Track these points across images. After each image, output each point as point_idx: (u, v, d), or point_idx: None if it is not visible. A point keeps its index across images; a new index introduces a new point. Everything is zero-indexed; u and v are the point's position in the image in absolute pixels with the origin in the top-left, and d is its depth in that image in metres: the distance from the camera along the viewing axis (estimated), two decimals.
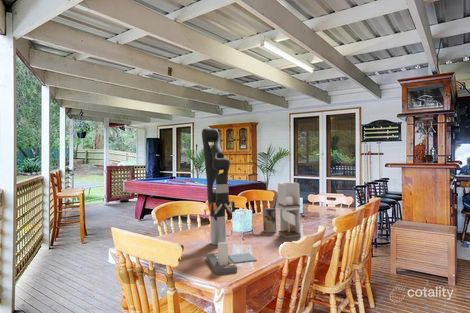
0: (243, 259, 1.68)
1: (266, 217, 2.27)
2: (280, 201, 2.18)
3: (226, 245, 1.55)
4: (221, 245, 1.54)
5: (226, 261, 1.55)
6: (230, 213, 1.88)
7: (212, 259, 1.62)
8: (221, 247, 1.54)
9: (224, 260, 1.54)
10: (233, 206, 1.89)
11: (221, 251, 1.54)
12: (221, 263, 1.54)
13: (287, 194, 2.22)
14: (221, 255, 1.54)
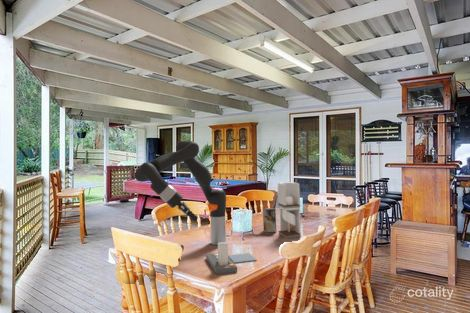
0: (243, 259, 1.68)
1: (266, 217, 2.27)
2: (280, 201, 2.18)
3: (226, 245, 1.55)
4: (221, 245, 1.54)
5: (226, 261, 1.55)
6: (189, 216, 1.51)
7: (212, 259, 1.62)
8: (221, 247, 1.54)
9: (224, 260, 1.54)
10: (183, 212, 1.49)
11: (221, 251, 1.54)
12: (221, 263, 1.54)
13: (287, 194, 2.22)
14: (221, 255, 1.54)
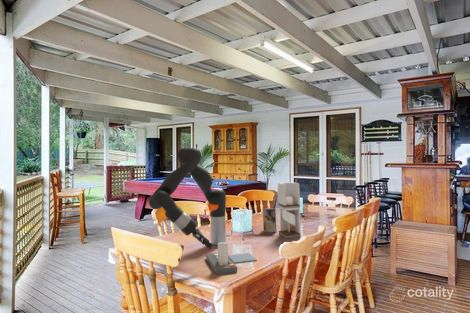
0: (243, 259, 1.68)
1: (266, 217, 2.27)
2: (280, 201, 2.18)
3: (226, 245, 1.55)
4: (221, 245, 1.54)
5: (226, 261, 1.55)
6: (204, 244, 1.50)
7: (212, 259, 1.62)
8: (221, 247, 1.54)
9: (224, 260, 1.54)
10: (198, 240, 1.47)
11: (221, 251, 1.54)
12: (221, 263, 1.54)
13: (287, 194, 2.22)
14: (221, 255, 1.54)
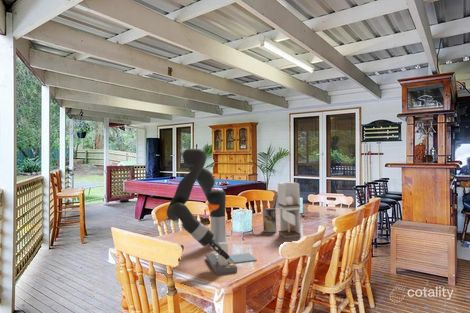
0: (243, 259, 1.68)
1: (266, 217, 2.27)
2: (280, 201, 2.18)
3: (226, 245, 1.55)
4: (221, 245, 1.54)
5: (226, 261, 1.55)
6: None
7: (212, 259, 1.62)
8: (221, 247, 1.54)
9: (224, 260, 1.54)
10: (216, 252, 1.50)
11: None
12: (221, 263, 1.54)
13: (287, 194, 2.22)
14: (221, 255, 1.54)
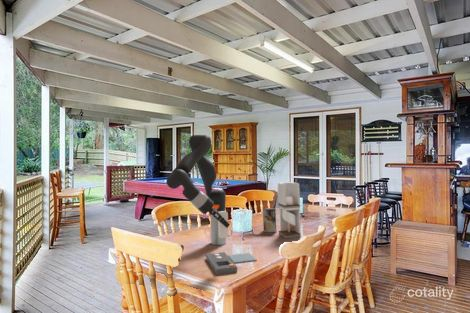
0: (243, 259, 1.68)
1: (266, 217, 2.27)
2: (280, 201, 2.18)
3: (226, 213, 1.55)
4: (221, 213, 1.55)
5: (226, 229, 1.55)
6: None
7: (212, 259, 1.62)
8: (221, 215, 1.55)
9: (225, 228, 1.55)
10: (217, 219, 1.51)
11: None
12: (221, 231, 1.55)
13: (287, 194, 2.22)
14: (221, 223, 1.55)
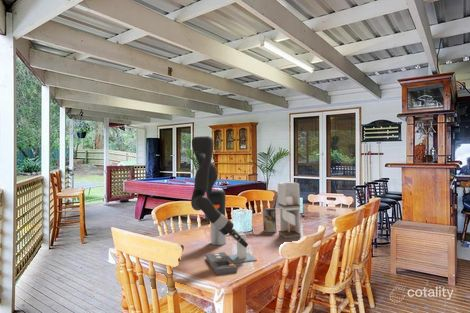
0: (243, 259, 1.68)
1: (266, 217, 2.27)
2: (280, 201, 2.18)
3: (245, 236, 1.69)
4: (240, 236, 1.68)
5: (245, 250, 1.69)
6: None
7: (212, 259, 1.62)
8: (240, 238, 1.68)
9: (243, 250, 1.69)
10: (236, 239, 1.64)
11: None
12: (240, 252, 1.68)
13: (287, 194, 2.22)
14: (240, 245, 1.68)
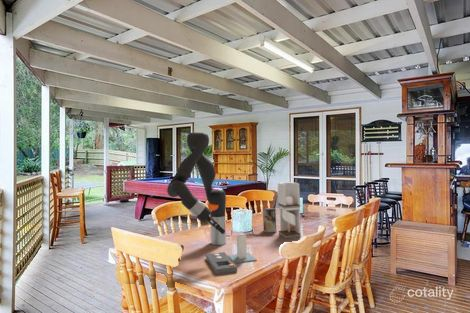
0: (243, 259, 1.68)
1: (266, 217, 2.27)
2: (280, 201, 2.18)
3: (245, 236, 1.69)
4: (240, 236, 1.68)
5: (245, 250, 1.69)
6: (217, 230, 1.62)
7: (212, 259, 1.62)
8: (240, 238, 1.68)
9: (243, 250, 1.69)
10: (212, 225, 1.60)
11: (240, 241, 1.68)
12: (240, 252, 1.68)
13: (287, 194, 2.22)
14: (240, 245, 1.68)
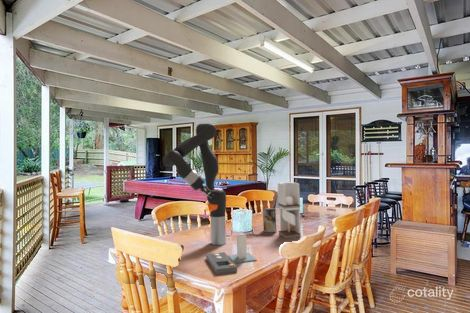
0: (243, 259, 1.68)
1: (266, 217, 2.27)
2: (280, 201, 2.18)
3: (245, 236, 1.69)
4: (240, 236, 1.68)
5: (245, 250, 1.69)
6: (211, 198, 1.71)
7: (212, 259, 1.62)
8: (240, 238, 1.68)
9: (243, 250, 1.69)
10: (206, 193, 1.68)
11: (240, 241, 1.68)
12: (240, 252, 1.68)
13: (287, 194, 2.22)
14: (240, 245, 1.68)
